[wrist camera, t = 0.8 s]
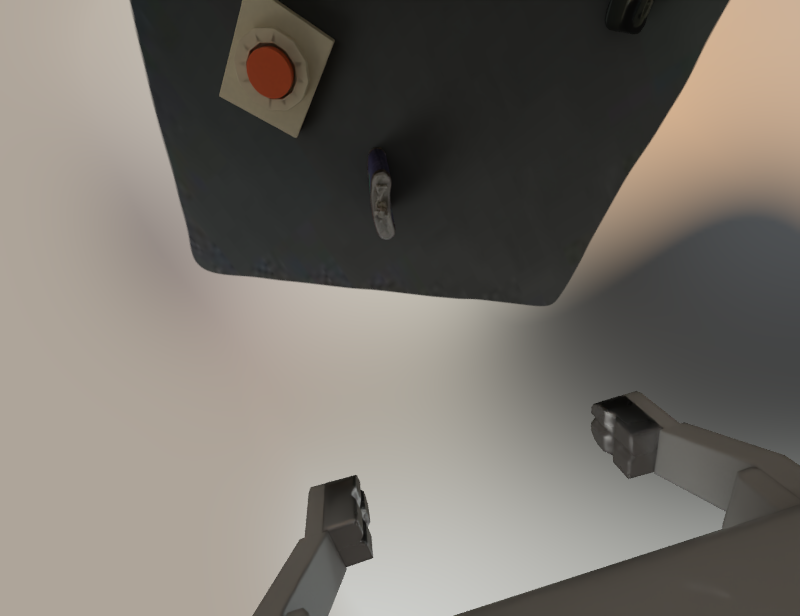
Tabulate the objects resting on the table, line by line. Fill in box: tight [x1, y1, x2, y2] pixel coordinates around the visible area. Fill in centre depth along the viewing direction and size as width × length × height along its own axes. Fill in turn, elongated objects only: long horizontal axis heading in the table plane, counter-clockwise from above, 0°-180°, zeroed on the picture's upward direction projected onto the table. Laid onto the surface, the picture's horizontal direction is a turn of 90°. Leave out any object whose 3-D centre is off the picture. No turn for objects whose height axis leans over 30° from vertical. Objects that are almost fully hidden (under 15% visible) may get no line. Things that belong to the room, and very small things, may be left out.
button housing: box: [219, 0, 335, 138], centre depth 39 cm, size 11×9×4 cm
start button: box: [247, 46, 294, 99], centre depth 37 cm, size 4×4×2 cm
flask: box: [367, 147, 395, 240], centre depth 46 cm, size 9×3×11 cm, turn 4°
